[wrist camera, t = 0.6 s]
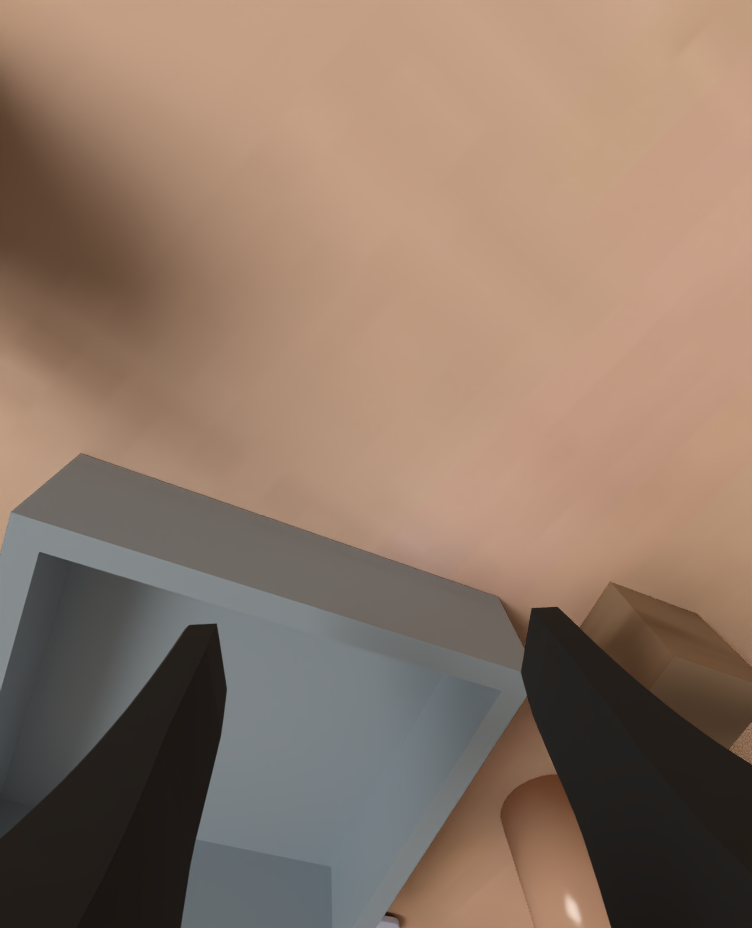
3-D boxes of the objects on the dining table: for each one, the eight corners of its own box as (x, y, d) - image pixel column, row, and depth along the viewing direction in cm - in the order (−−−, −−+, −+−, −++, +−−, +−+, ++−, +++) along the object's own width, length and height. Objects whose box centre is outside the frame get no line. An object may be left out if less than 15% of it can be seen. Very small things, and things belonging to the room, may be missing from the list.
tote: (341, 863, 30) (344, 975, 25) (-16, 789, 26) (-90, 907, 21) (498, 597, 25) (538, 677, 20) (80, 453, 21) (10, 512, 16)
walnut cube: (638, 692, 28) (702, 781, 23) (553, 665, 27) (603, 753, 22) (695, 612, 26) (776, 691, 22) (609, 580, 25) (674, 656, 20)
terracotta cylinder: (561, 848, 31) (624, 1006, 25) (484, 830, 30) (528, 990, 24) (608, 786, 30) (688, 936, 23) (529, 765, 29) (589, 916, 22)
